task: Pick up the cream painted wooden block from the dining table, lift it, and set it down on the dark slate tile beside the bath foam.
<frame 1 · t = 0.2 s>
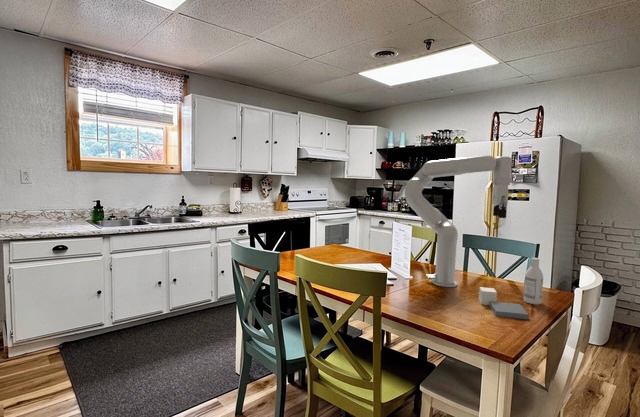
hand: (499, 216, 176), 36 cm above the table, tool pointing down, fingers open, 9 cm apart
tile: (507, 312, 148), on the table
block: (487, 302, 159), on the table
bath foam: (532, 302, 161), on the table
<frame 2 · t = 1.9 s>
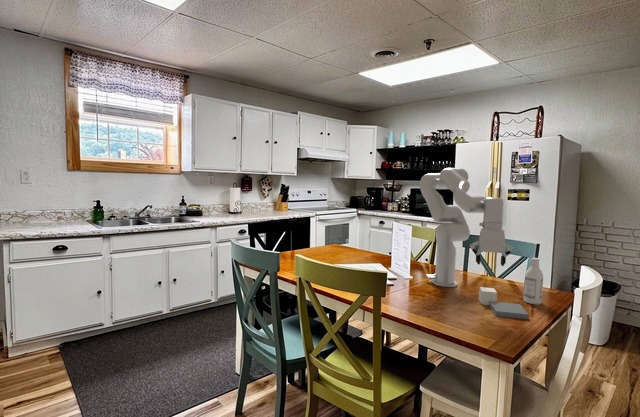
hand: (490, 264, 157), 17 cm above the table, tool pointing down, fingers open, 9 cm apart
nothing on the table moved.
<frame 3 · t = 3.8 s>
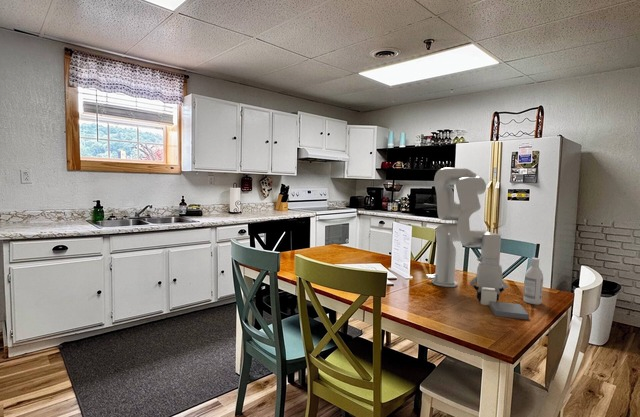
hand: (487, 300, 159), 1 cm above the table, tool pointing down, fingers closed on block, 6 cm apart
block: (487, 302, 159), on the table, touching gripper
everything else where it was.
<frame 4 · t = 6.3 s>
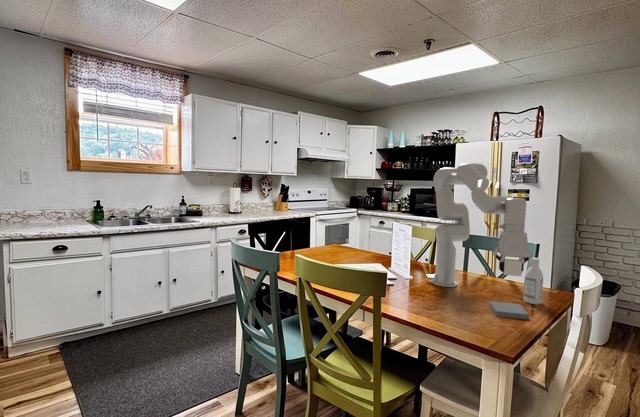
hand: (510, 271, 146), 17 cm above the table, tool pointing down, fingers closed on block, 6 cm apart
block: (510, 273, 146), point 16 cm above the table, touching gripper
everything else where it was.
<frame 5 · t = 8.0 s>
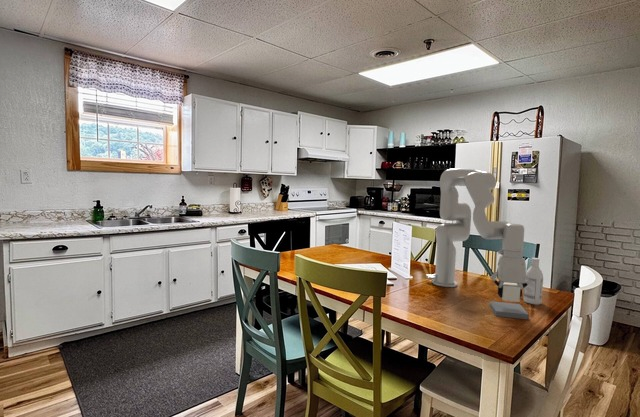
hand: (509, 296, 147), 7 cm above the table, tool pointing down, fingers closed on block, 6 cm apart
block: (509, 299, 147), point 6 cm above the table, touching gripper
everything else where it was.
when the fingers open (4 cm above the table, at t = 9.0 s): block drops 1 cm, resting on tile.
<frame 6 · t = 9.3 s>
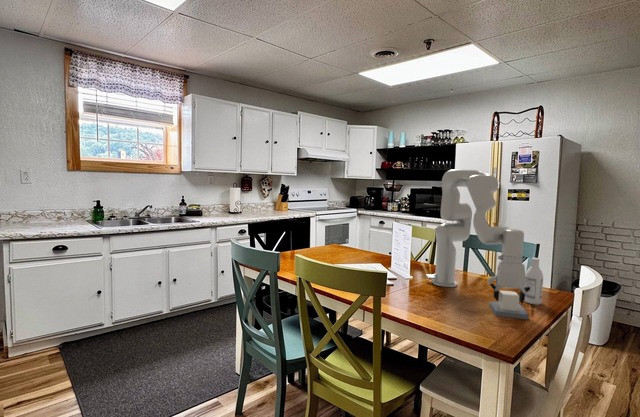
hand: (508, 300, 147), 5 cm above the table, tool pointing down, fingers open, 8 cm apart
block: (508, 307, 147), point 2 cm above the table, touching tile
everything else where it was.
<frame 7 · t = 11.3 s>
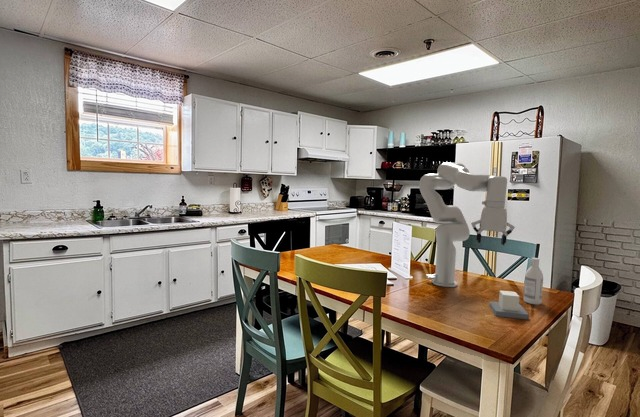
hand: (490, 243, 157), 27 cm above the table, tool pointing down, fingers open, 9 cm apart
nothing on the table moved.
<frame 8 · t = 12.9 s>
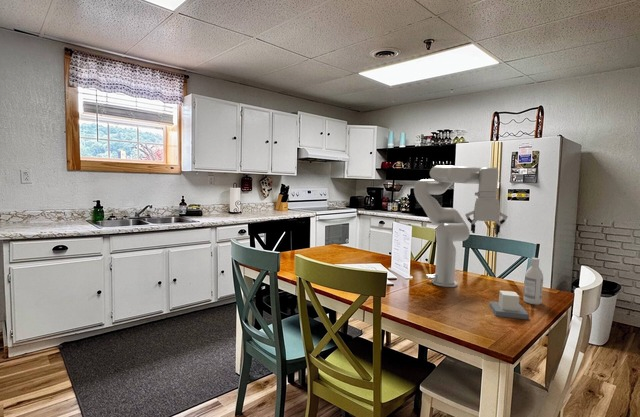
hand: (484, 233, 160), 30 cm above the table, tool pointing down, fingers open, 9 cm apart
nothing on the table moved.
at the end: block inside the target area on the tile (0.0 cm from its centre), point 2.0 cm above the tile's base; block tilted 0°; the gripper is holding nothing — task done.
